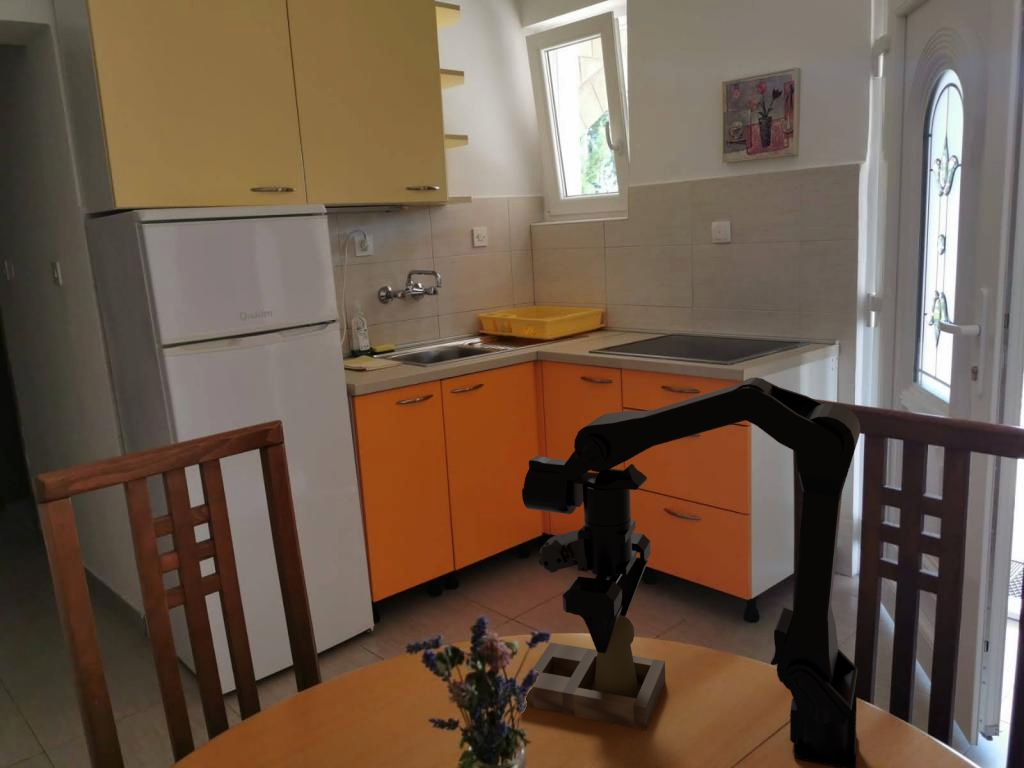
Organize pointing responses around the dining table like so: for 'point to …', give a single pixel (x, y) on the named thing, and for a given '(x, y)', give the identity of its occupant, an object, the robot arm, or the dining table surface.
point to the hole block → (569, 693)
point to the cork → (618, 663)
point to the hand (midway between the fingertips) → (611, 633)
